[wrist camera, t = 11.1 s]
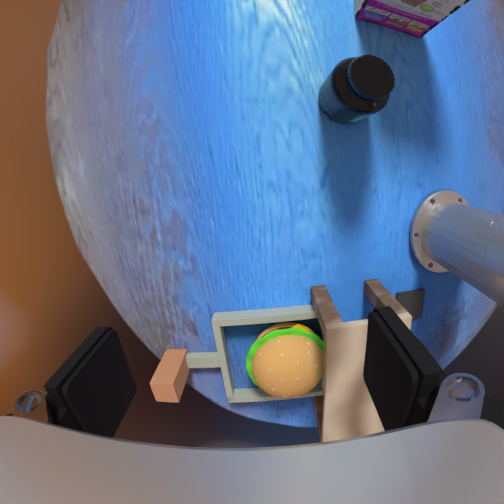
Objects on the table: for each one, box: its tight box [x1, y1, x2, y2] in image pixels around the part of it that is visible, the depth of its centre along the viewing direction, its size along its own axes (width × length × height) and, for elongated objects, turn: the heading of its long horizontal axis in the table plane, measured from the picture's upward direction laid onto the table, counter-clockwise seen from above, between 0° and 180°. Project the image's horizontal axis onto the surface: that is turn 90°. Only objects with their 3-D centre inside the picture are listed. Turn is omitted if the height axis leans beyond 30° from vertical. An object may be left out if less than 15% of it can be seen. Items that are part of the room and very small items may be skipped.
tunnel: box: [311, 279, 412, 442], centre depth 38 cm, size 10×22×12 cm, turn 6°
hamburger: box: [246, 322, 325, 398], centre depth 40 cm, size 12×12×9 cm
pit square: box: [396, 289, 425, 319], centre depth 42 cm, size 5×5×1 cm
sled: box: [150, 304, 325, 403], centre depth 41 cm, size 26×16×9 cm, turn 96°
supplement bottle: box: [318, 55, 395, 124], centre depth 29 cm, size 7×7×12 cm
